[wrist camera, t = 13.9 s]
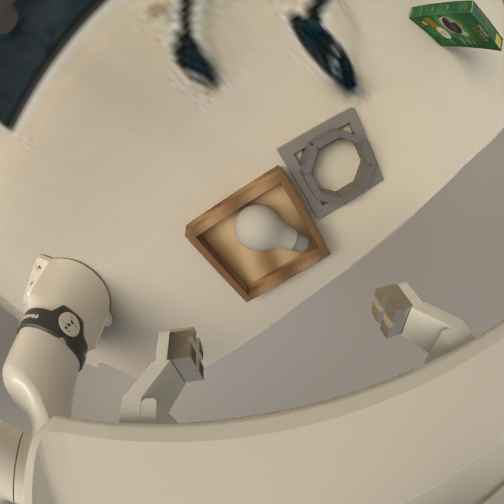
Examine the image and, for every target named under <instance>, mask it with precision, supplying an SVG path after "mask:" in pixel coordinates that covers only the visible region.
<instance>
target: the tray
mask: <svg viewBox="0 0 504 504" xmlns="http://www.w3.org/2000/svg"><path fill="white" fill-rule="evenodd" d="M253 204H262V205H266V206H269V207H270V208H271V209H273V210H274V211H275V212H276V213H277V214H278V216H279V217H280V218H281V220H282V221H283V222H284V223H285V224H287V225H288V226H290V227H292V228H294V229H295V230H296V231H297V232H299V233H301V234H303V235H305V236H307V237H308V239H309V247H308V249H306V250H305V251H304V252H303V253H299V252H296V251H292V250H289V251H287V250H283V249H268V250H263V251H252V250H249V249H247V248H245V247H244V246H243V245H241V244H240V243H239V241H238V240H237V238H236V236H235V232H234V223H235V219H236V217H237V215H238V214H239V212H240V211H241V210H243V209H244V208H245V207H247V206H250V205H253ZM185 237H186V238H187V239H188V240H189V241H190V242H191V243H192V244H193V245H194V247H195V248H196V249H197V250H198V251H199V252H200V253H201V254H202V255H203V256H204V257H205V259H206V260H207V261H208V262H209V263H210V264H211V265H212V266H213V267H214V268H215V269H216V270H217V271H218V273H219V274H220V275H221V276H222V277H223V278H224V279H225V280H226V281H227V282H228V283H229V284H230V285H231V286H232V287H233V288H234V289H235V291H236V292H237V293H238V294H239V295H240V296H241V297H242V298H243V299H244V300H245V301H246V302H248V301H250V300H252V299H254V298H255V297H257V296H259V295H261V294H263V293H264V292H266V291H268V290H270V289H271V288H273V287H275V286H277V285H279V284H280V283H282V282H284V281H286V280H287V279H289V278H291V277H292V276H294V275H296V274H298V273H299V272H301V271H303V270H305V269H306V268H308V267H310V266H311V265H313V264H315V263H316V262H318V261H320V260H321V259H323V258H325V257H326V256H328V255H330V252H329V250H328V249H327V247H326V245H325V243H324V241H323V239H322V238H321V236H320V234H319V232H318V230H317V228H316V227H315V225H314V223H313V221H312V220H311V218H310V216H309V214H308V213H307V211H306V209H305V207H304V206H303V204H302V202H301V201H300V199H299V197H298V195H297V194H296V192H295V190H294V189H293V187H292V185H291V184H290V182H289V180H288V179H287V177H286V176H285V174H284V172H283V171H282V170H281V169H280V167H279V166H276V167H275V168H273V169H271V170H270V171H268V172H266V173H265V174H263V175H262V176H260V177H258V178H257V179H255V180H254V181H252V182H251V183H249V184H247V185H246V186H244V187H243V188H241V189H240V190H238V191H237V192H235V193H234V194H232V195H231V196H229V197H227V198H226V199H224V200H223V201H221V202H220V203H218V204H217V205H215V206H214V207H213V208H211V209H210V210H208V211H207V212H205V213H204V214H202V215H201V216H199V217H198V218H196V219H195V220H194V221H192V222H191V223H189V224H188V225H187V226H186V232H185Z"/></svg>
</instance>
